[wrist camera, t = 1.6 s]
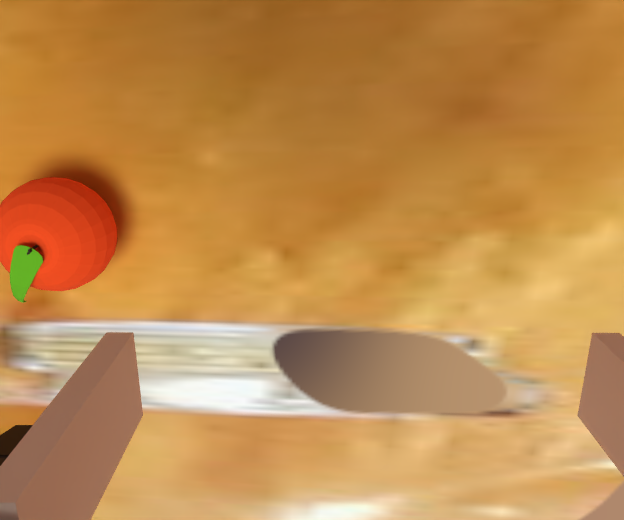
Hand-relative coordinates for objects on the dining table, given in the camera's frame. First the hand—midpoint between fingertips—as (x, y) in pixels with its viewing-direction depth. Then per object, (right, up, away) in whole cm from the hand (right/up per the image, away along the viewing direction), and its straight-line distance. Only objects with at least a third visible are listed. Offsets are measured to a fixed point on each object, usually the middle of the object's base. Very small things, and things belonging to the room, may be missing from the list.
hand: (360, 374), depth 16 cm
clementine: (-17, +6, +21) cm, 28 cm away
